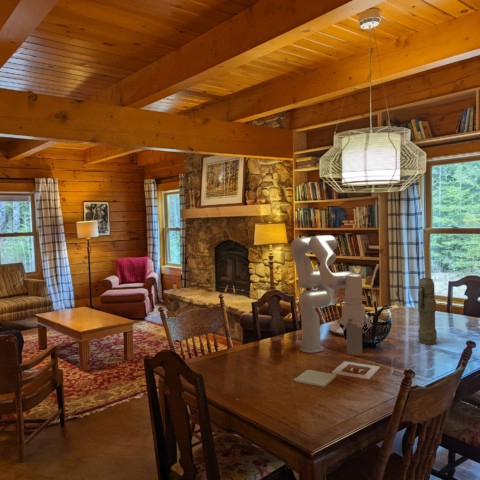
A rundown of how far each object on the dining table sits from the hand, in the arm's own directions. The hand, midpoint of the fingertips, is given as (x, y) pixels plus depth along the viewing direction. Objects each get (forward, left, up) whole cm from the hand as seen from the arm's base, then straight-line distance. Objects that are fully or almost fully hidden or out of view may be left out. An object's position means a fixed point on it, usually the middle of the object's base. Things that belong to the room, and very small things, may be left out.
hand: (354, 339), depth 198 cm
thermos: (+21, +58, -14) cm, 63 cm away
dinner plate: (-22, +62, -15) cm, 67 cm away
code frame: (+1, 0, -14) cm, 14 cm away
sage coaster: (-11, -18, -14) cm, 26 cm away
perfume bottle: (0, 0, -6) cm, 6 cm away
